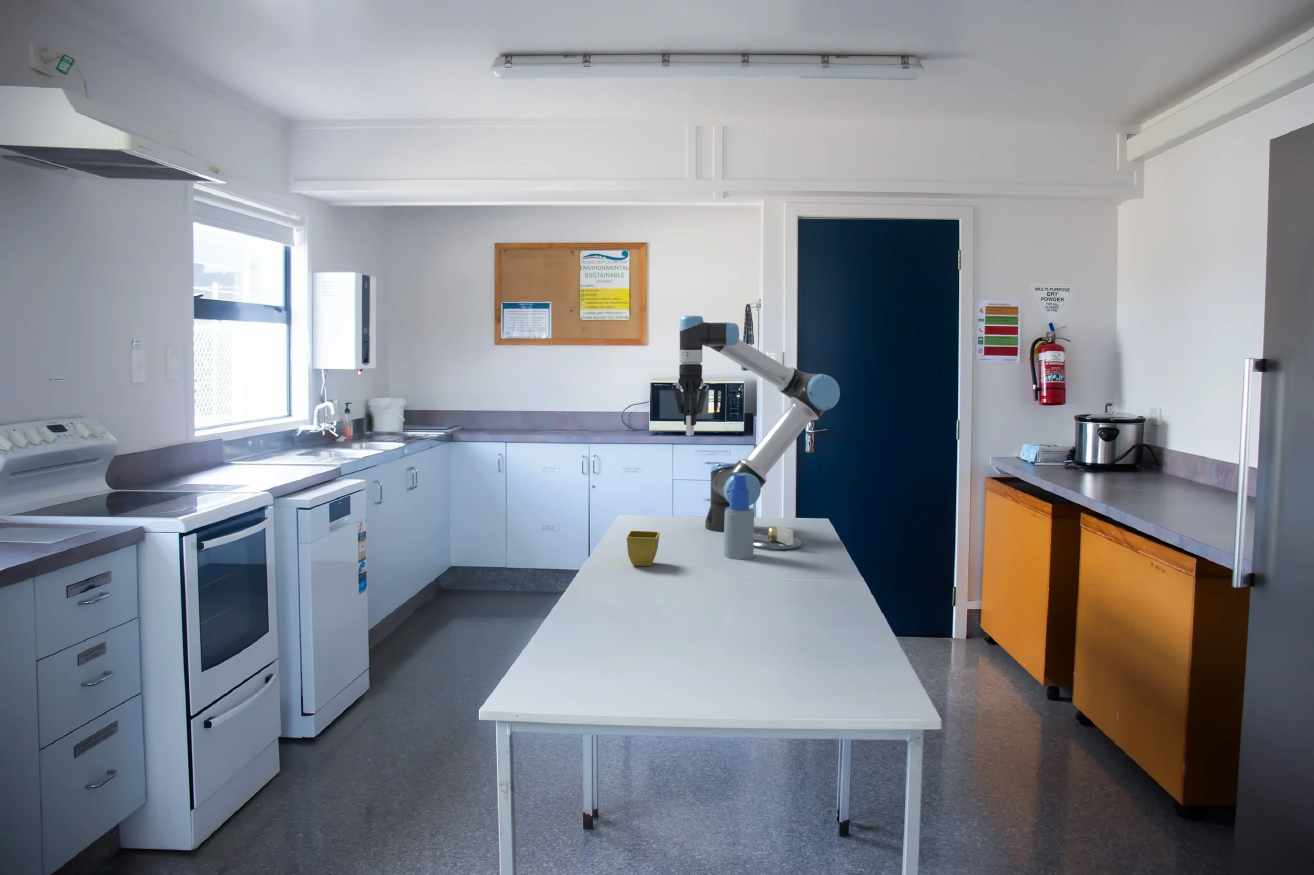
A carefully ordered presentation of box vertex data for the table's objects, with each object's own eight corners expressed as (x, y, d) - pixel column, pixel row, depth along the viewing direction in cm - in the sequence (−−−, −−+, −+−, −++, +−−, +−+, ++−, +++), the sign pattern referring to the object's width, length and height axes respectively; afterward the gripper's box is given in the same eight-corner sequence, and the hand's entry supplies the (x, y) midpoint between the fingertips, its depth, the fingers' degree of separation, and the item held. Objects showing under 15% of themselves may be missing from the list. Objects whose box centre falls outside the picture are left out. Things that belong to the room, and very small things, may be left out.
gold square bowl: (659, 561, 238) (659, 531, 238) (656, 568, 230) (656, 537, 229) (630, 560, 239) (630, 530, 238) (626, 567, 231) (626, 537, 230)
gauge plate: (754, 537, 272) (754, 532, 271) (805, 541, 266) (805, 536, 266) (743, 548, 256) (743, 543, 255) (796, 552, 250) (796, 548, 250)
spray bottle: (751, 552, 250) (753, 472, 248) (754, 559, 241) (756, 476, 239) (723, 552, 250) (724, 472, 248) (724, 559, 241) (726, 476, 239)
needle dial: (765, 539, 262) (765, 525, 261) (776, 538, 264) (776, 523, 263) (784, 546, 252) (785, 531, 252) (796, 544, 254) (796, 530, 254)
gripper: (667, 363, 264) (667, 435, 267) (703, 363, 258) (702, 437, 260) (678, 363, 271) (677, 433, 273) (713, 363, 265) (712, 435, 267)
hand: (689, 435), depth 267 cm, fingers closed
